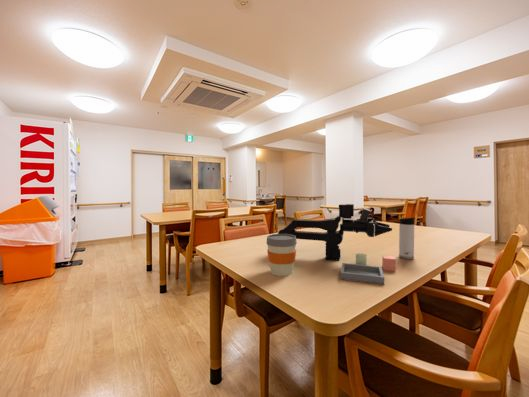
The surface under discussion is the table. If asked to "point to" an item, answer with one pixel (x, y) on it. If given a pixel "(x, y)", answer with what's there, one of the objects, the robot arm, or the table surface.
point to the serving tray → (362, 273)
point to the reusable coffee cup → (281, 253)
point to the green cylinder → (361, 259)
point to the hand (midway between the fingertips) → (390, 227)
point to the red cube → (389, 263)
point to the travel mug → (406, 238)
